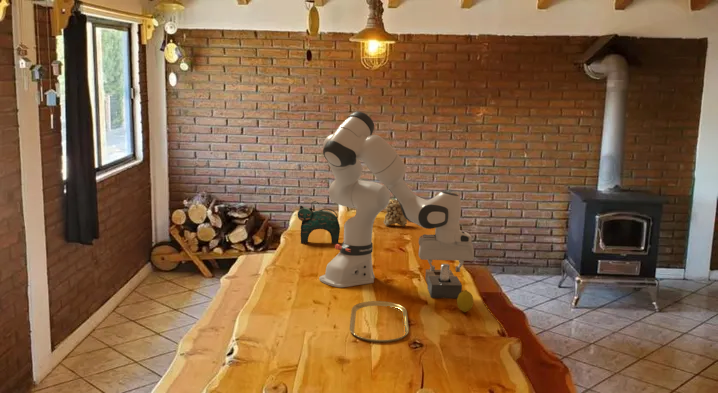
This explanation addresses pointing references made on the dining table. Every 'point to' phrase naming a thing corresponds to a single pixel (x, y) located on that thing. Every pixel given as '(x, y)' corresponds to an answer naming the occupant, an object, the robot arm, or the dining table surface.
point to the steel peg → (444, 273)
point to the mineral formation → (394, 214)
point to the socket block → (435, 274)
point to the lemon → (465, 301)
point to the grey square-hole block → (444, 287)
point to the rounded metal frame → (377, 303)
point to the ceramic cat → (318, 223)
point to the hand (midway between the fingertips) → (445, 271)
